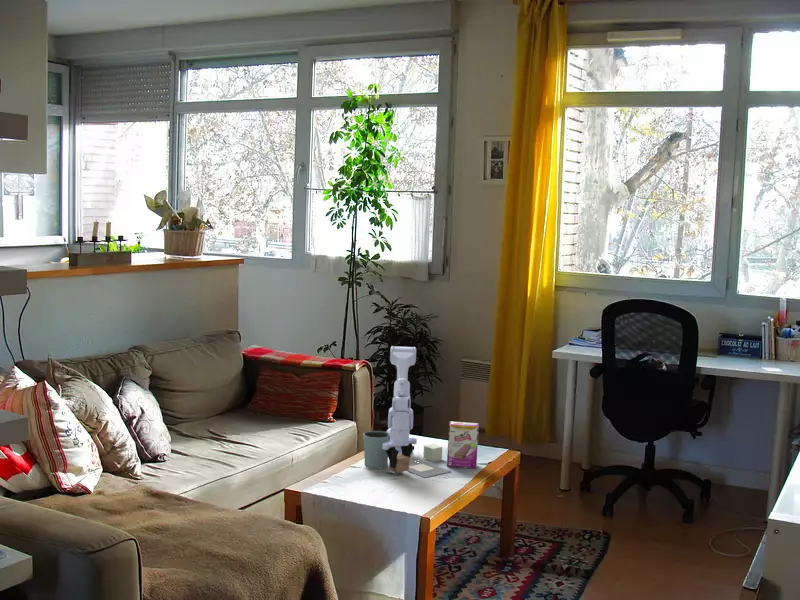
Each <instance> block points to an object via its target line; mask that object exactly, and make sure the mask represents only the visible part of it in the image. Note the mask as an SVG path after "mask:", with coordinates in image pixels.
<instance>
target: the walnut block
mask: <svg viewBox="0 0 800 600" xmlns="http://www.w3.org/2000/svg"><path fill="white" fill-rule="evenodd" d="M409 461H410V458H409V457H408V456H405V455H402V454H398V455H397V460H396V468H392V467H391V466H390V461H389V460H388V469H389V470H390V471H392V472H394V473H397V474H400V473H403V472H408V471H409Z"/></svg>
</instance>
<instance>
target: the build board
mask: <svg viewBox="0 0 800 600" xmlns="http://www.w3.org/2000/svg"><path fill="white" fill-rule="evenodd" d="M418 460H419V461H418ZM415 461H416V462H415ZM417 462H419V463H417ZM407 472H408V473H410V472H411V473H410V474H413V475H415V474H416V476H418V477H420V476H421V478H423V479H426V478H432V477H435V476H439V474H440V475H444V474H448V473H451V472H452V471H451V470H449V469H446V468H443V467H441V466H438V465H435V464H433V463H430V462H429V461H428V462H427V461H425V460H423V459H419V458H417V459H412V460H409V471H407ZM447 472H448V473H447ZM443 473H444V474H443Z"/></svg>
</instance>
